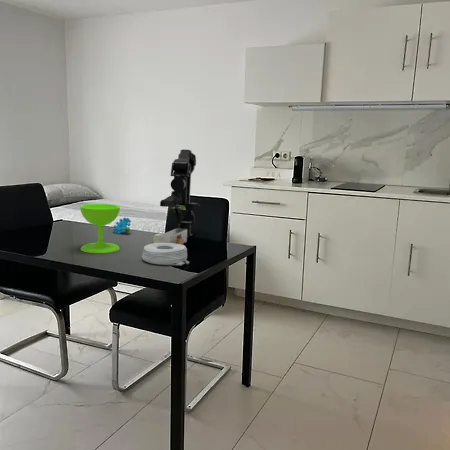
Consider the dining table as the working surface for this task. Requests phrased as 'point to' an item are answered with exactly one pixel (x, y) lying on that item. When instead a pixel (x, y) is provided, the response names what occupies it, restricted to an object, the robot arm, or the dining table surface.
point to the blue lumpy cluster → (122, 226)
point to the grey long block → (173, 236)
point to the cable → (165, 254)
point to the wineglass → (100, 225)
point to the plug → (156, 237)
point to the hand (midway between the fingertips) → (179, 224)
